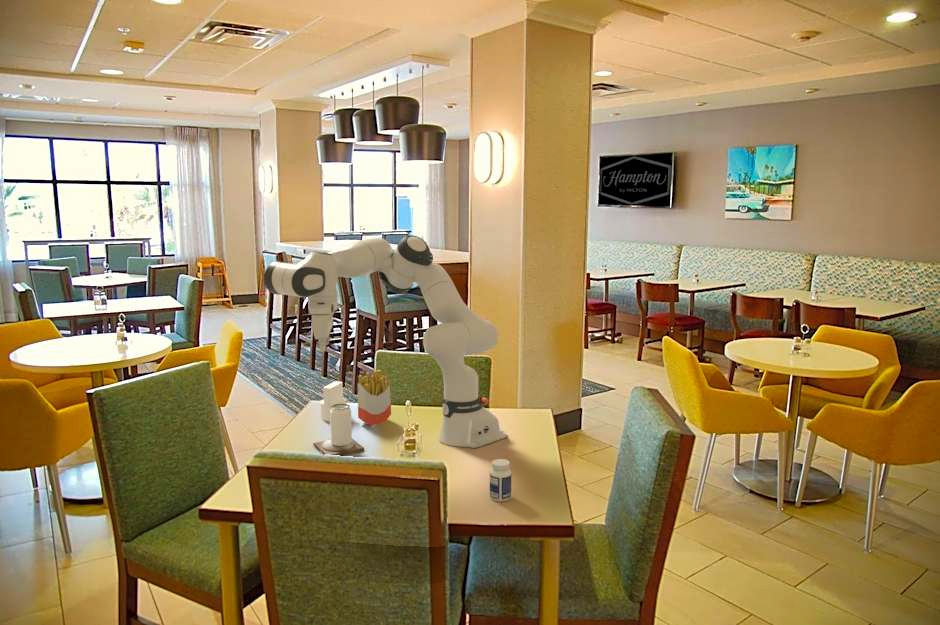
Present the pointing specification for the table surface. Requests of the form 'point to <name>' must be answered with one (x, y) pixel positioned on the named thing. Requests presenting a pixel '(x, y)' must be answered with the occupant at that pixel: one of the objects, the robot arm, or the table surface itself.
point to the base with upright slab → (331, 398)
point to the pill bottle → (500, 480)
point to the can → (340, 425)
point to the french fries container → (374, 398)
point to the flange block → (338, 448)
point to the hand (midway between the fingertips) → (324, 347)
